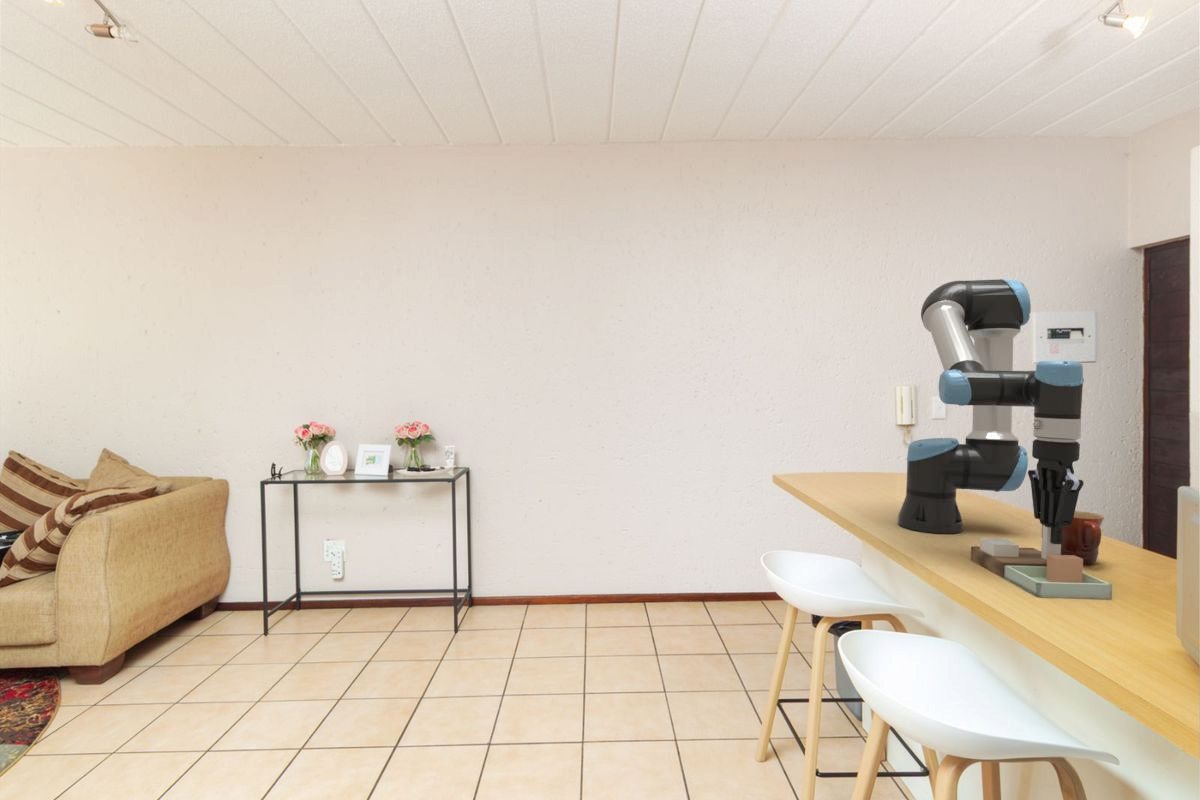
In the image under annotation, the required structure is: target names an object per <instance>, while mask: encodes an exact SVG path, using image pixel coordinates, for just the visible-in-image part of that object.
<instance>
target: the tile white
mask: <svg viewBox="0 0 1200 800" xmlns="http://www.w3.org/2000/svg"><path fill="white" fill-rule="evenodd" d="M979 547H980V550H982V551H984V552H986V553H987V554H989V555H991V556H995V557H1018V554H1019V548H1020V545H1019V544H1017V543H1015V542H1014V541H1011V540H1008V539H1007V538H993V537H991V538H989V537H980V539H979Z"/></svg>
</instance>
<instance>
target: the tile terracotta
mask: <svg viewBox="0 0 1200 800" xmlns="http://www.w3.org/2000/svg"><path fill="white" fill-rule="evenodd" d="M1083 570H1084V565H1083V559H1082V558H1079V557H1077V556H1074V555H1047V573H1046V580H1047V581H1049V582H1062V583H1082V575H1083V572H1084V571H1083Z"/></svg>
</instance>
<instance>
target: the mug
mask: <svg viewBox="0 0 1200 800" xmlns="http://www.w3.org/2000/svg"><path fill="white" fill-rule="evenodd" d="M1104 519H1105V517H1104V516H1103V515H1101V514H1099V513H1094V512H1089V511H1088V512H1087V511H1083V510H1075V513H1074V517H1073V521H1072V525H1071V526H1067V527H1064V528H1063V529H1062V543H1061V555H1074V556H1077V557H1079V558H1082V559H1083V566H1087V565H1093V564H1095V563H1096V562H1097V560H1098V557H1099V553H1100V552H1099V549H1100V548H1099V547H1100V544H1101V541H1102V530H1101V526H1102V524H1103V522H1104Z"/></svg>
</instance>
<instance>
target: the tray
mask: <svg viewBox="0 0 1200 800" xmlns="http://www.w3.org/2000/svg"><path fill="white" fill-rule="evenodd" d="M1046 573H1047V566H1011V565H1004V578H1003V579H1004V580H1006V581H1008V582H1009V583H1011V584H1013V585H1015V586H1017V587H1019V588H1020V589H1022V590H1024V591H1026V592H1027V593H1030V594H1032V595H1033V596H1035V597H1037V598H1062V599H1063V598H1065V599H1066V598H1067V599H1091V598H1093V599H1094V600H1095V599H1098V600H1099V599H1100V600H1113V584H1111V583H1109V582H1107V581H1105V580H1102V579H1100V578H1098V577H1096V576H1093V575H1091V574H1089V573H1087V572H1084V571H1083V575H1082V583H1062V582H1049V581H1047V580H1046ZM1093 599H1092V600H1093Z"/></svg>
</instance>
